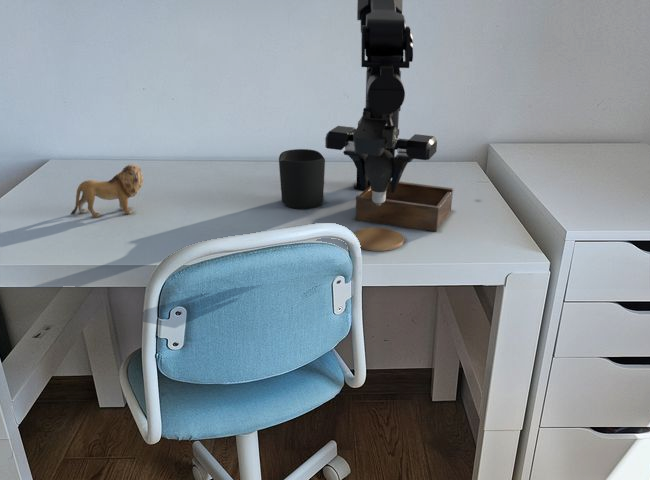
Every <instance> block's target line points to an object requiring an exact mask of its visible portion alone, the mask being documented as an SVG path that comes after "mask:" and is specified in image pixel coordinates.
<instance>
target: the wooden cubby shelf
mask: <svg viewBox="0 0 650 480" xmlns="http://www.w3.org/2000/svg"><path fill="white" fill-rule="evenodd" d="M391 183H392V179H391V180H390V182H389V184H388V187H387V190H386V199H385V202H383V203H381V205H376V203H374V202H373V201H372V189H371V185H370V186H369V187H368V188H367V189H366V190H363V191H362V192H361V193H360V194H357V195H356V196H355V221H360V222H361V221H362V222H368V223H374V224H381V225H389V226H396V227H402V228H409V229H416V230H423V231H430V232H437V231H438V230H439V229H440V227H441V226H442V224H443V223H444V222H445V220H446V219H447V217H448V216H449V214H450V213H451V212H452V206H453V205H452V203H453V194H454V188H452V187H445V186H438V185H430V184H422V183H414V182H406V181H399V183H398V185H397V188H396V190H395V192H394V193H391Z"/></svg>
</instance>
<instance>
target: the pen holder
mask: <svg viewBox="0 0 650 480" xmlns="http://www.w3.org/2000/svg"><path fill="white" fill-rule="evenodd" d="M278 168H279V181H280V193H281V202H282V204H283V205H284V206H285V207H288V208H291V209H297V210H309V209H315V208H318V207H320V206H321V205H322V204H323V202H324V193H325V192H324V191H325V169H326V158H325V157H324V156H323V154H322V153H321V152H320V151H318V150H315V149H308V148H307V149H306V148H297V149H288V150H285V151H282V152H281V153H280V154H279V157H278Z"/></svg>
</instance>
